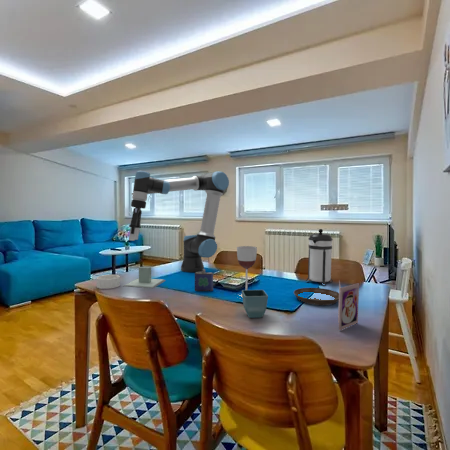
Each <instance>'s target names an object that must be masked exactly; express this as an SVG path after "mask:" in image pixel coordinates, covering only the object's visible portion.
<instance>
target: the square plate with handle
mask: <svg viewBox="0 0 450 450" xmlns="http://www.w3.org/2000/svg"><path fill="white" fill-rule="evenodd" d="M164 280H165V279H161V278H152V267H151V266H140V267H138V278H137V279H134V280H132V281H130V282H128V283H126V284H124V285H125V286H132V287H131V288H137V287H148V288H147V289H154V288H153V287H154V286H156V285H157V284H159V283H161V282H162V281H164ZM164 282H165V281H164ZM161 284H162V283H161ZM156 287H157V286H156Z"/></svg>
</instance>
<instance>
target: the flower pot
mask: <svg viewBox="0 0 450 450" xmlns="http://www.w3.org/2000/svg"><path fill="white" fill-rule="evenodd" d="M241 294H242V298H243V299H242V304H243V308H244V310H245V313H246V315H247V317H248V318H250V319H251V318H253V319H254V318H263V316H264V315H265V313H266V311H267V305H268V301H269V300H268V298H269V295H268V294H267V292H266V291H265V290H264V289H247V290H245V289H242V290H241Z"/></svg>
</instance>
